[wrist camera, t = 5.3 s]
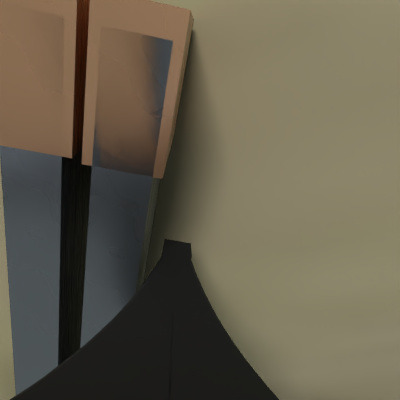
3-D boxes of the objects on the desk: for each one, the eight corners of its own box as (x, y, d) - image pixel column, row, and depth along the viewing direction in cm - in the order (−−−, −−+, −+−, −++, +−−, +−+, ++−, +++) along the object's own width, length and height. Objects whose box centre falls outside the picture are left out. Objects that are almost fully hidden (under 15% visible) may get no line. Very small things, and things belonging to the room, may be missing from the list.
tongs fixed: (116, 425, 16) (90, 549, 12) (53, 418, 16) (6, 542, 12) (176, 15, 9) (157, -2, 5) (58, -11, 8) (-66, -52, 4)
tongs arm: (129, 393, 15) (111, 488, 12) (93, 389, 15) (65, 483, 12) (193, 19, 9) (190, 9, 5) (131, 5, 8) (90, -14, 5)
